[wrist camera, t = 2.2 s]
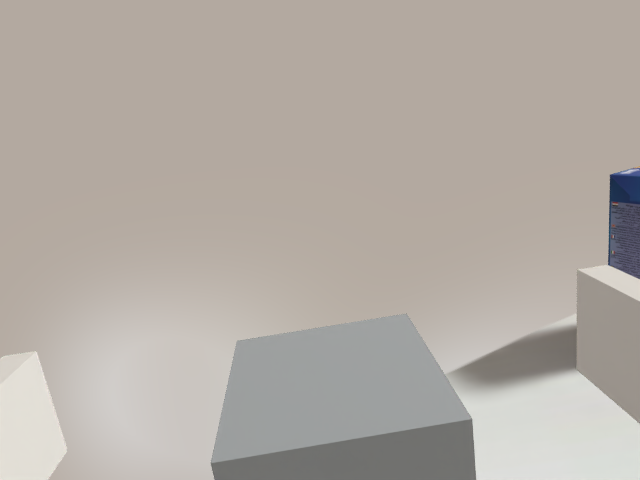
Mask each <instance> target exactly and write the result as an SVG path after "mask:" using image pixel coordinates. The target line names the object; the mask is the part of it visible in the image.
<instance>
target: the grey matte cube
mask: <svg viewBox="0 0 640 480" xmlns="http://www.w3.org/2000/svg"><path fill="white" fill-rule="evenodd" d="M211 466H212V470H213V474H214V479H215V480H476V471H475V456H474V440H473V425H472V418H471V416H470V415H469V413H468V412H467V410H466V408H465V407H464V405H463V403H462V402H461V400H460V399H459V397H458V395H457V394H456V392H455V391H454V389H453V387H452V386H451V384H450V383H449V381H448V379H447V378H446V376H445V374H444V373H443V371H442V370H441V368H440V366H439V365H438V363H437V362H436V360H435V358H434V357H433V355H432V354H431V352H430V350H429V349H428V347H427V346H426V344H425V342H424V341H423V339H422V337H421V336H420V334H419V333H418V331H417V329H416V328H415V326H414V325H413V323H412V321H411V320H410V318H409V316H408V315H407V314H401V315H396V316H389V317H382V318H376V319H370V320H364V321H358V322H351V323H345V324H339V325H333V326H326V327H321V328H314V329H308V330H302V331H296V332H289V333H283V334H277V335H271V336H265V337H258V338H252V339H246V340H240V341H237V343H236V348H235V353H234V357H233V362H232V367H231V371H230V376H229V381H228V385H227V390H226V394H225V399H224V404H223V408H222V413H221V418H220V422H219V427H218V432H217V436H216V442H215V446H214V450H213V455H212V460H211Z"/></svg>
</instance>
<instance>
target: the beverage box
mask: <svg viewBox="0 0 640 480" xmlns="http://www.w3.org/2000/svg"><path fill="white" fill-rule="evenodd" d="M609 209H610V210H609V257H608V262H609V263H608V265H609V266H611V267H613V268H616V269H618V270H620V271H622V272H624V273H627V274H629V275H631V276H633V277H636V278H638V279H640V166H639V167H636V168H633V169H629V170H625V171H621V172H618V173H614V174H611V175H610V208H609Z"/></svg>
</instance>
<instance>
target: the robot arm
mask: <svg viewBox="0 0 640 480" xmlns="http://www.w3.org/2000/svg"><path fill="white" fill-rule="evenodd" d="M576 369H577V370H578V371H579V372H580V373H581V374H582V375H584V376H585V377H586V378H587V379H588V380H589V381H591V382H592V383H593V384H594V385H595V386H596V387H598V388H599V389H600V390H601V391H602V392H603V393H605V394H606V395H607V396H608V397H609V398H610V399H612V400H613V401H614V402H615V403H616V404H617V405H619V406H620V407H621V408H622V409H623V410H624V411H626V412H627V413H628V414H629V415H630V416H631V417H633V418H634V419H635V420H636V421H637V422H638V423H640V279H638V278H636V277H633V276H631V275H629V274H627V273H624V272H622V271H620V270H618V269H616V268H613V267H611V266H609V265H603V266H597V267H591V268H583V269H578V270H577V363H576ZM66 452H67V447H66V444H65V440H64V437H63V434H62V431H61V428H60V424H59V421H58V418H57V415H56V412H55V408H54V405H53V402H52V399H51V396H50V393H49V389H48V386H47V383H46V380H45V377H44V374H43V370H42V367H41V364H40V361H39V358H38V354H37V351H34V352H28V353H20V354H14V355H7V356H3V357H2V358H1V359H0V480H48V479H49V478H50V476H51V475H52V473H53V472H54V470H55V468H56V467H57V466H58V464H59V463H60V461H61V459H62V458H63V456H64V455H65V453H66Z"/></svg>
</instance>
